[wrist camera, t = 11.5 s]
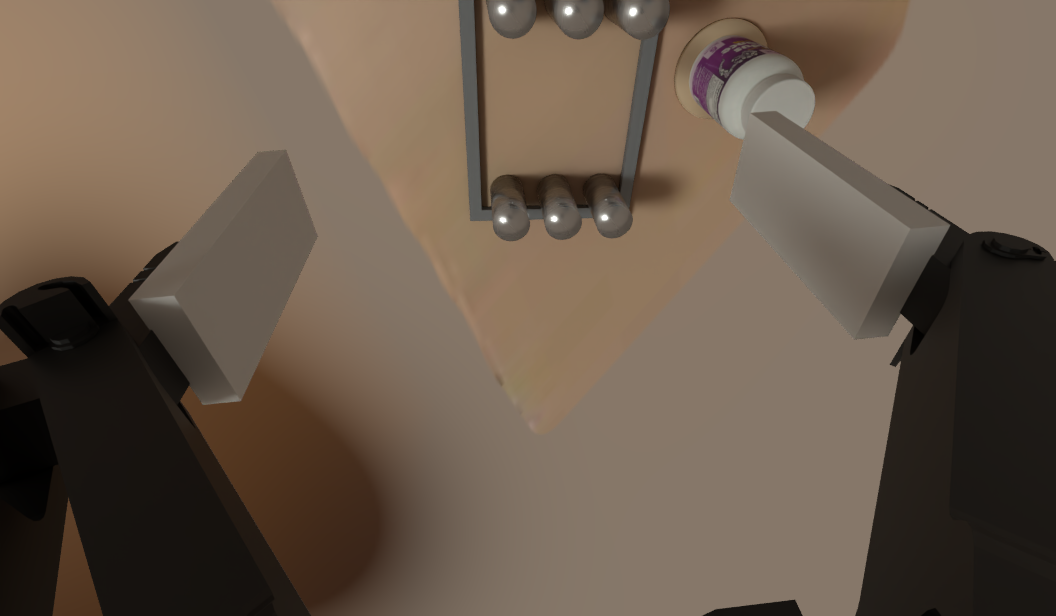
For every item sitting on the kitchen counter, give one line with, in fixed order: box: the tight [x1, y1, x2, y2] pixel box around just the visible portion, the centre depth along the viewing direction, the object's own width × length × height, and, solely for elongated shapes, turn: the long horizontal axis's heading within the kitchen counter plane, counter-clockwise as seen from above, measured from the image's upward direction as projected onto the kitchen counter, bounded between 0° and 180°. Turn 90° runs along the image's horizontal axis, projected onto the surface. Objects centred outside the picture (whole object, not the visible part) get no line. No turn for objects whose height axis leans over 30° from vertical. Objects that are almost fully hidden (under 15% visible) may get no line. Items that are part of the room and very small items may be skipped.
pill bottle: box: [689, 35, 815, 140], centre depth 33 cm, size 5×5×10 cm
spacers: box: [486, 0, 670, 241], centre depth 36 cm, size 17×11×6 cm, turn 179°
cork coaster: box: [674, 18, 768, 119], centre depth 37 cm, size 7×7×1 cm
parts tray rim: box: [459, 0, 659, 221], centre depth 38 cm, size 19×14×1 cm
